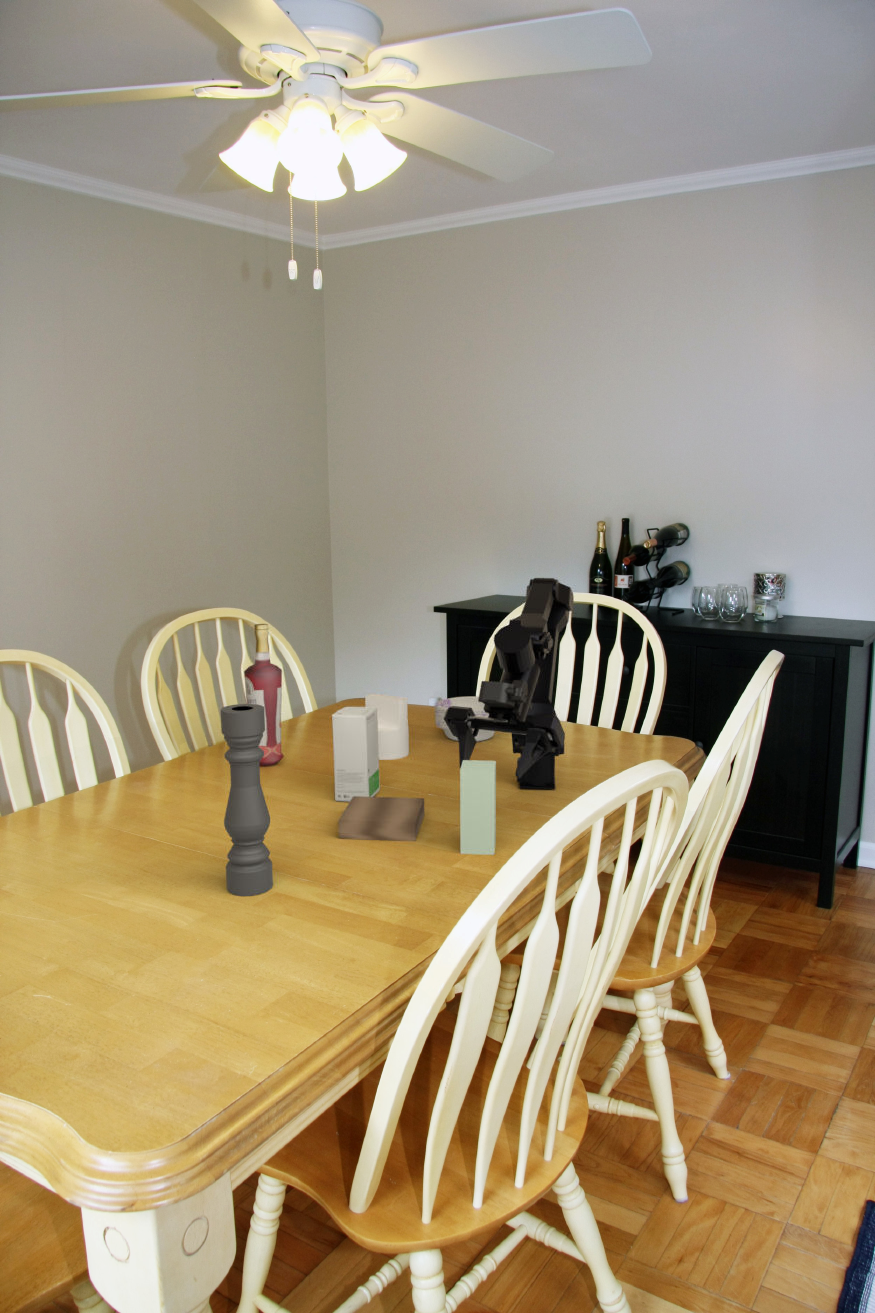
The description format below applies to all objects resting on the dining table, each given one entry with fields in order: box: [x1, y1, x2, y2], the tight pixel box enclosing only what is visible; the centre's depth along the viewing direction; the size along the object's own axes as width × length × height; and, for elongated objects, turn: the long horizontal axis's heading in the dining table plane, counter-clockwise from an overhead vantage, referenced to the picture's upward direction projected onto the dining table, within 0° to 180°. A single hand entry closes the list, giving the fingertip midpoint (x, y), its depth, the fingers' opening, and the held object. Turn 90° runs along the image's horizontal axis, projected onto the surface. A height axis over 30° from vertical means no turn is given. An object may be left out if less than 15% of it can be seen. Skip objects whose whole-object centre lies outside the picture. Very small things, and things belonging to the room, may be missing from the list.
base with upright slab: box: [364, 693, 410, 761], centre depth 196 cm, size 9×9×12 cm
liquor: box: [243, 623, 284, 767], centre depth 188 cm, size 7×7×28 cm
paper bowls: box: [434, 695, 496, 742], centre depth 209 cm, size 15×15×8 cm
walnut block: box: [337, 796, 425, 842], centre depth 153 cm, size 12×12×3 cm
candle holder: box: [220, 703, 274, 897], centre depth 128 cm, size 6×6×25 cm
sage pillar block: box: [459, 759, 497, 856], centre depth 143 cm, size 5×5×13 cm
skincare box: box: [331, 706, 381, 803], centre depth 168 cm, size 8×7×16 cm
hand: (489, 773), depth 146 cm, fingers open, 9 cm apart
